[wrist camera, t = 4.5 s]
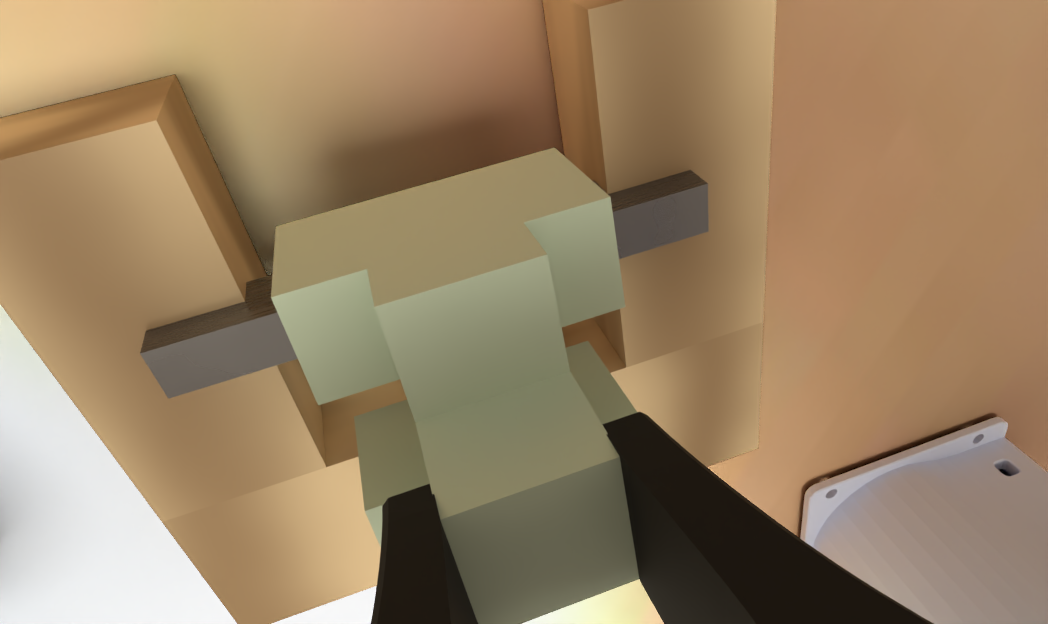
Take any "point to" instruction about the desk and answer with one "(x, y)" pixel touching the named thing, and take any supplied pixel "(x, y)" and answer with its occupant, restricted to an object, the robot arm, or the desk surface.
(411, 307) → the pale green block
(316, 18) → the desk surface
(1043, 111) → the desk surface
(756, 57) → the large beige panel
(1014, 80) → the desk surface
